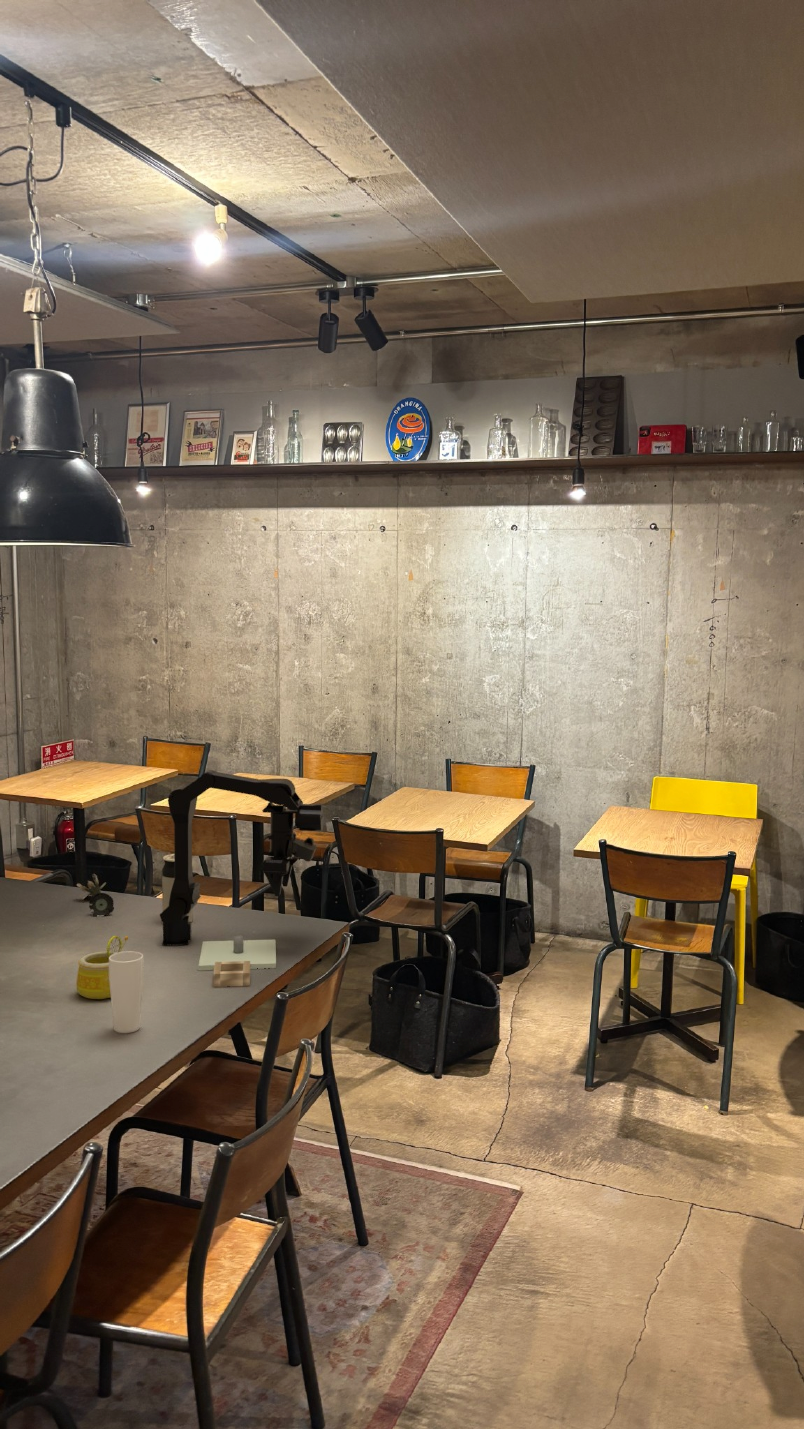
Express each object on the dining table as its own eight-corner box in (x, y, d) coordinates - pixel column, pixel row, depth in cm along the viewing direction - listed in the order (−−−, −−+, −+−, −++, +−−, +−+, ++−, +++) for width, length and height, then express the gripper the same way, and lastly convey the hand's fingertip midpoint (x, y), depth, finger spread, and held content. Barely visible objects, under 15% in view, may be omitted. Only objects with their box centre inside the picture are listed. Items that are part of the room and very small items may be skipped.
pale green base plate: (198, 970, 241) (198, 949, 240) (203, 946, 259) (203, 926, 258) (276, 968, 243) (276, 947, 243) (275, 944, 261) (275, 924, 261)
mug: (84, 1006, 219) (83, 951, 217) (71, 989, 228) (70, 937, 227) (143, 995, 225) (142, 941, 224) (128, 979, 235) (127, 928, 233)
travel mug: (197, 919, 281) (197, 854, 280) (185, 927, 274) (184, 861, 272) (170, 916, 283) (170, 852, 281) (157, 925, 275) (156, 859, 274)
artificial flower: (84, 923, 281) (73, 888, 280) (85, 910, 303) (75, 877, 302) (117, 912, 283) (106, 877, 283) (116, 899, 305) (106, 867, 304)
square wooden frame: (213, 987, 231) (213, 974, 230) (215, 974, 238) (215, 962, 238) (249, 985, 232) (249, 972, 231) (250, 973, 240) (250, 960, 239)
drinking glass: (139, 1036, 203) (138, 962, 202) (105, 1035, 204) (103, 961, 202) (148, 1022, 210) (147, 951, 209) (115, 1022, 210) (114, 950, 209)
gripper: (306, 839, 247) (306, 902, 249) (320, 823, 266) (319, 883, 267) (261, 837, 248) (260, 900, 250) (277, 822, 267) (277, 881, 268)
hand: (281, 891), depth 259 cm, fingers open, 9 cm apart
